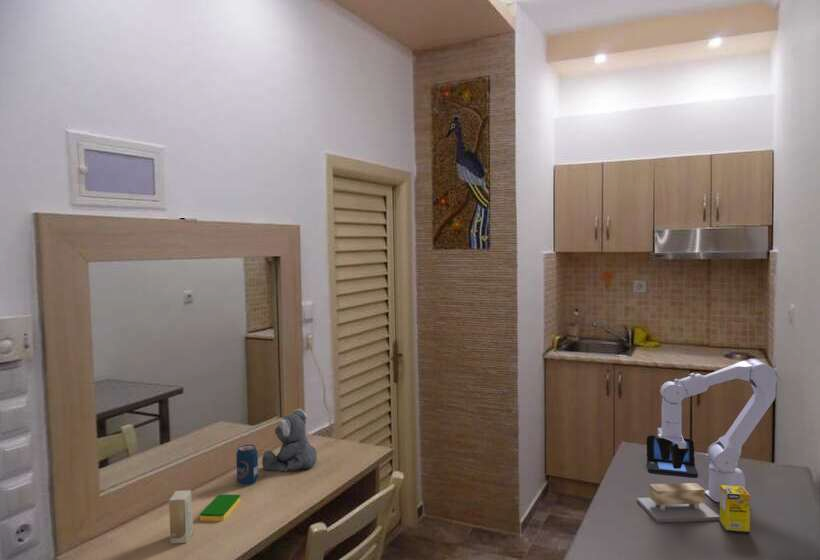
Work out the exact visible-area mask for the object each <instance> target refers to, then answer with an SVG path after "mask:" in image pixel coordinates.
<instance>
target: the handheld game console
mask: <svg viewBox="0 0 820 560" xmlns="http://www.w3.org/2000/svg"><path fill="white" fill-rule="evenodd" d="M655 436H656V435H651V434H650V435H647V437H646V464H647V471H648V472H650V473H654V474H662V473H664V475H673V476H680V477H681V476H683V477H691V476H692V478H696V477H697V476H698V475H699V473H698V471H697V467H696V462H695V461H696V460H695V459H696V458H695V442H694V440H693V439H691V438H684V437H683V439H684V441H685V442H686V446H687V447H688V448H689V451H688V452H687V453H686V455H685V457H684V459H683V463H682V466H681V469H674V468H673V464H672V456H671V452H670V458H669V460H663V459H662V458H661V454H660V449H659V446H658V443H657V441H656V439H655ZM672 445H674V446H675V444H674V443H672Z"/></svg>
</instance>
